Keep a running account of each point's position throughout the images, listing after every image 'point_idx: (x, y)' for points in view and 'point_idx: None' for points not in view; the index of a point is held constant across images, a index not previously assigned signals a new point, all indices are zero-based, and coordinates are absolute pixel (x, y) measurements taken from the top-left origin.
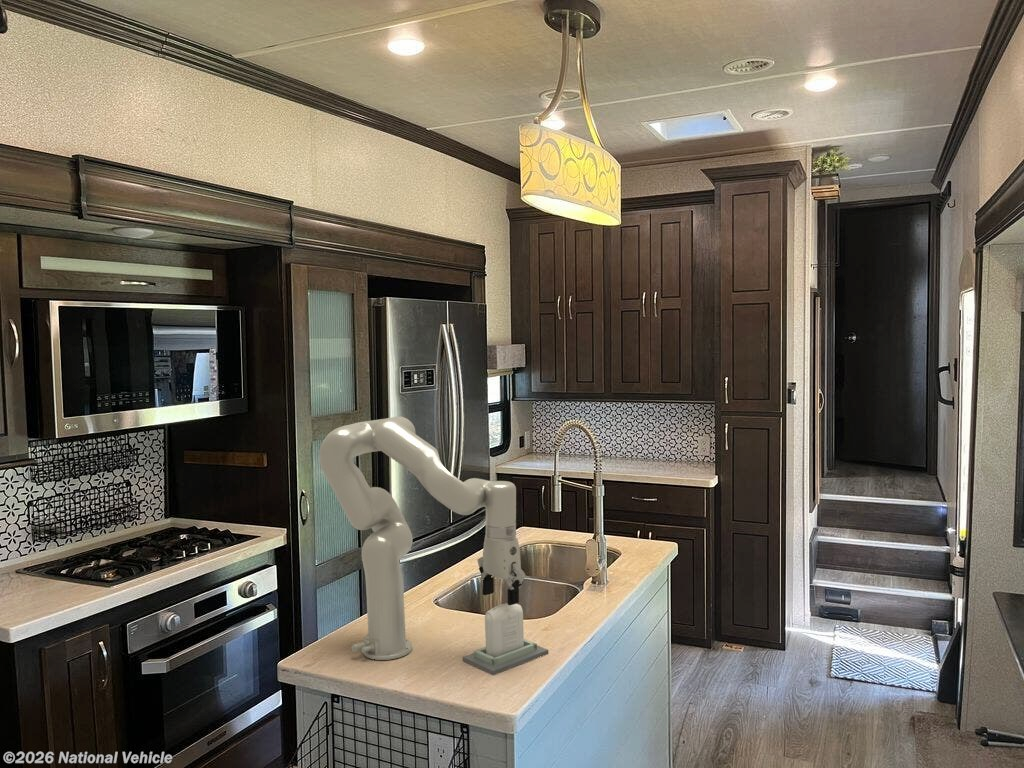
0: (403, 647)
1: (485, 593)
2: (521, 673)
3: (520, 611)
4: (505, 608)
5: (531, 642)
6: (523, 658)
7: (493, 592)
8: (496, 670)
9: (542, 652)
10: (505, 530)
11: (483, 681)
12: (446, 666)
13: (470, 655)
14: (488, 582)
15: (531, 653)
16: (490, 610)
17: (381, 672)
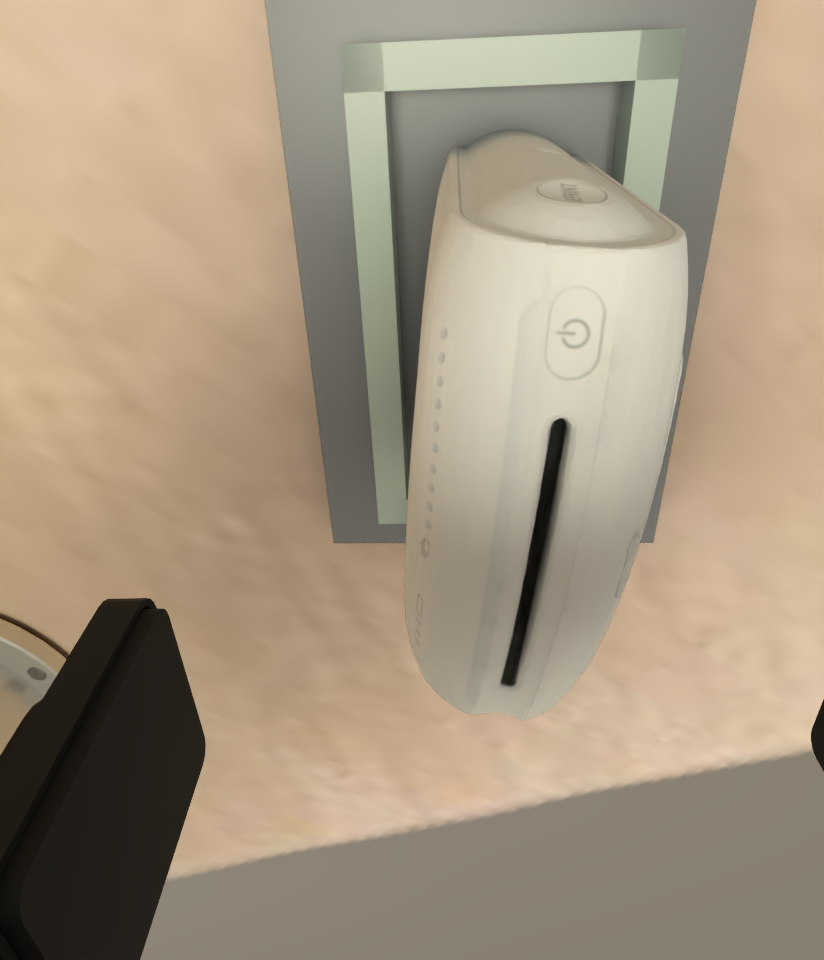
0: (26, 688)
1: (197, 762)
2: (789, 396)
3: (686, 296)
4: (615, 579)
5: (606, 45)
6: (690, 272)
7: (164, 611)
8: (655, 517)
9: (749, 26)
10: None
11: (657, 599)
12: (344, 616)
13: (348, 502)
14: (103, 922)
15: (680, 143)
16: (489, 702)
17: (213, 794)
